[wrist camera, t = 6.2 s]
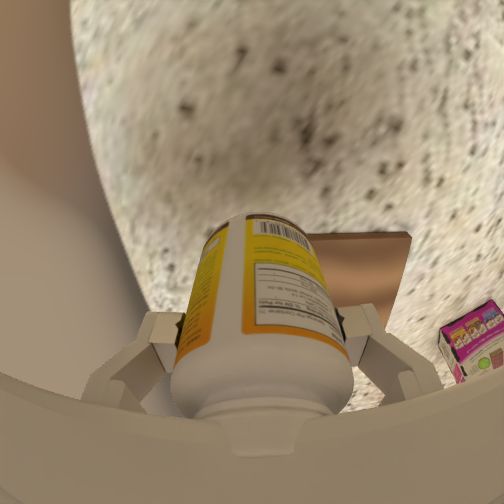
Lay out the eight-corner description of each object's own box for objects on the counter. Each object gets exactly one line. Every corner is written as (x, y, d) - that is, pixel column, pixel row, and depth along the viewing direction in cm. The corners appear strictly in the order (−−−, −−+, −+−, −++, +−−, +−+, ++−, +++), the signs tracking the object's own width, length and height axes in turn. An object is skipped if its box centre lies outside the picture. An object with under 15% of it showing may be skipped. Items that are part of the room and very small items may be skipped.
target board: (268, 236, 25) (268, 242, 24) (407, 231, 25) (412, 237, 24) (270, 340, 32) (270, 347, 31) (378, 330, 32) (381, 337, 31)
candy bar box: (436, 346, 35) (474, 430, 21) (438, 328, 33) (483, 419, 19) (488, 317, 33) (532, 390, 19) (493, 297, 30) (544, 373, 16)
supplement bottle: (222, 307, 16) (204, 488, 7) (187, 222, 13) (108, 437, 4) (319, 288, 15) (361, 474, 6) (304, 195, 12) (388, 420, 4)
